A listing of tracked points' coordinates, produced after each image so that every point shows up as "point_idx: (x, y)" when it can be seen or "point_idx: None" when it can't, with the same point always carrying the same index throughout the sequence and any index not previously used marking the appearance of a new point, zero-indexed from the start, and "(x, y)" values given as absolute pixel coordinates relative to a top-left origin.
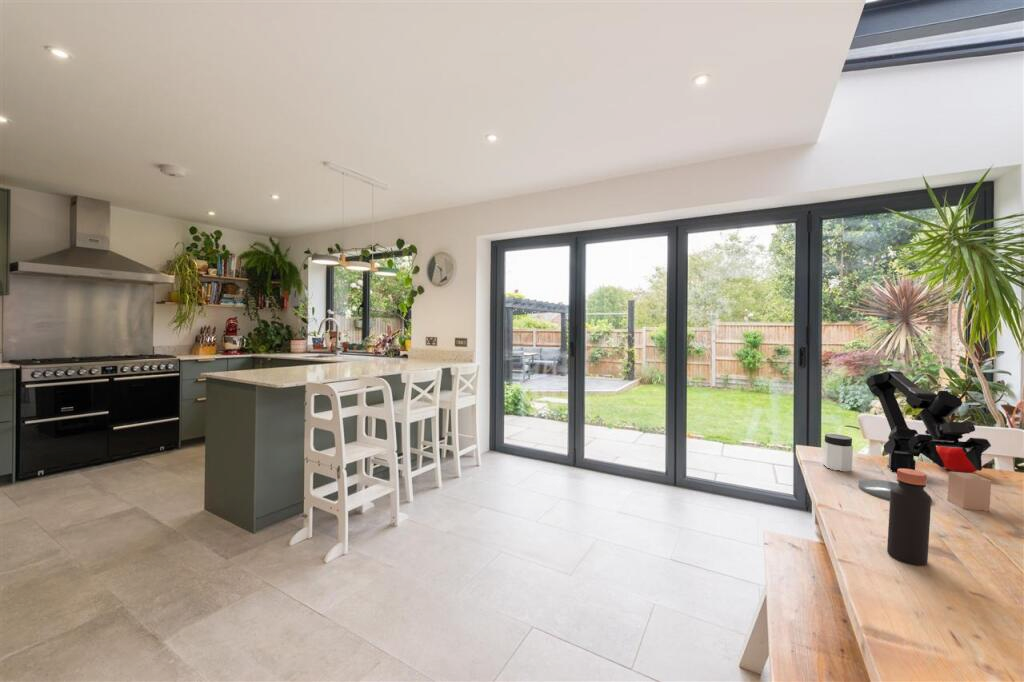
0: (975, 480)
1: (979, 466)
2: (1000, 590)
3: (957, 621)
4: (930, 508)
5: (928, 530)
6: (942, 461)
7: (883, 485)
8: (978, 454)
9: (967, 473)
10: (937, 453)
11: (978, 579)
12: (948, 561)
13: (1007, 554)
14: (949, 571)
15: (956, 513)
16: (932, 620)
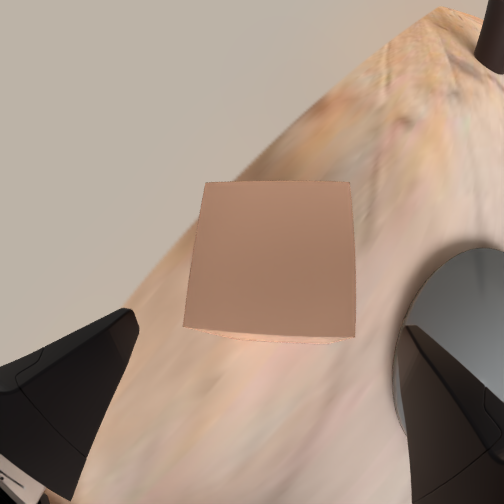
0: (291, 183)
1: (117, 319)
2: (424, 26)
3: (458, 21)
4: (488, 1)
5: (483, 22)
6: (424, 349)
7: (498, 393)
8: (17, 372)
9: (233, 317)
10: (478, 408)
11: (437, 35)
12: (456, 53)
13: (383, 55)
14: (457, 44)
15: (382, 202)
16: (469, 25)
